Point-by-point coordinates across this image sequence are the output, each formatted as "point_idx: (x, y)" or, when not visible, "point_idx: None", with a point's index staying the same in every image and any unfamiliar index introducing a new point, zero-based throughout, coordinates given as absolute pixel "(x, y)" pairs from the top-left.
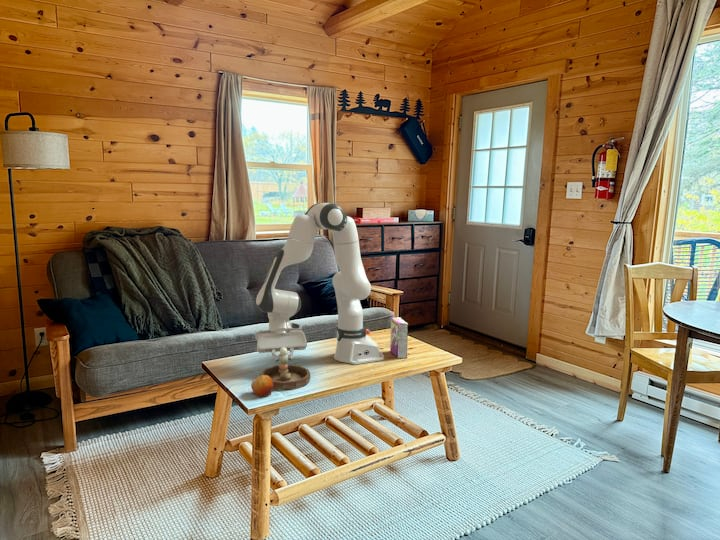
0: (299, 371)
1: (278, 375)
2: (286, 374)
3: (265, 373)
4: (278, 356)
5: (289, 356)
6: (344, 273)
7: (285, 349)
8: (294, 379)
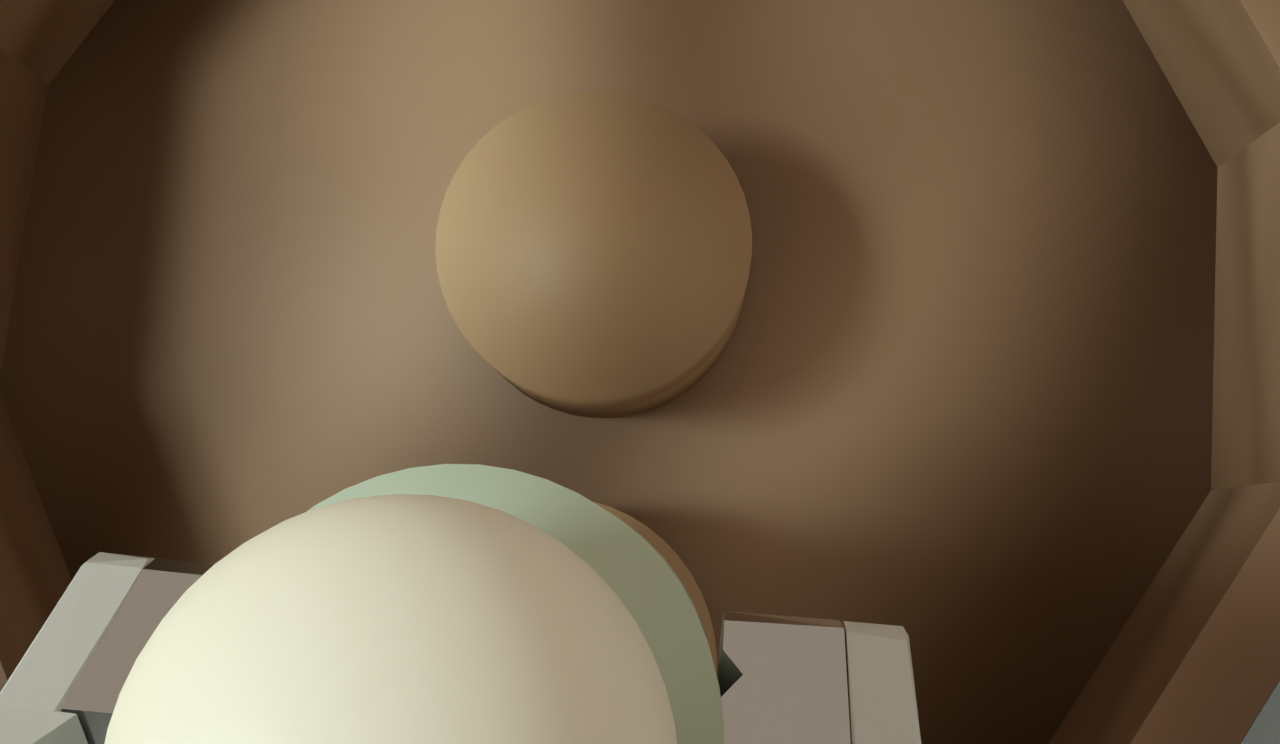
0: None
1: None
2: (565, 219)
3: (1152, 648)
4: (743, 721)
5: None
6: None
7: (244, 592)
8: (379, 178)
